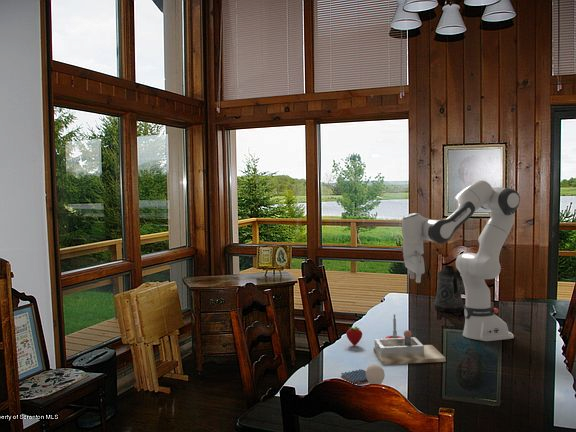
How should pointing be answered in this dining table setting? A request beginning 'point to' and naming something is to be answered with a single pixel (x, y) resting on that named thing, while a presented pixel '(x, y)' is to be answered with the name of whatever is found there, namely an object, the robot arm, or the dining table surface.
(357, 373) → the woven mat
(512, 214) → the robot arm
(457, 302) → the beer stein
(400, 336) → the tow hook
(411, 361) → the board
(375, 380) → the light bulb
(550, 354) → the dining table surface
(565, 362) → the dining table surface
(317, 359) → the dining table surface
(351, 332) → the strawberry
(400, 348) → the steel link
